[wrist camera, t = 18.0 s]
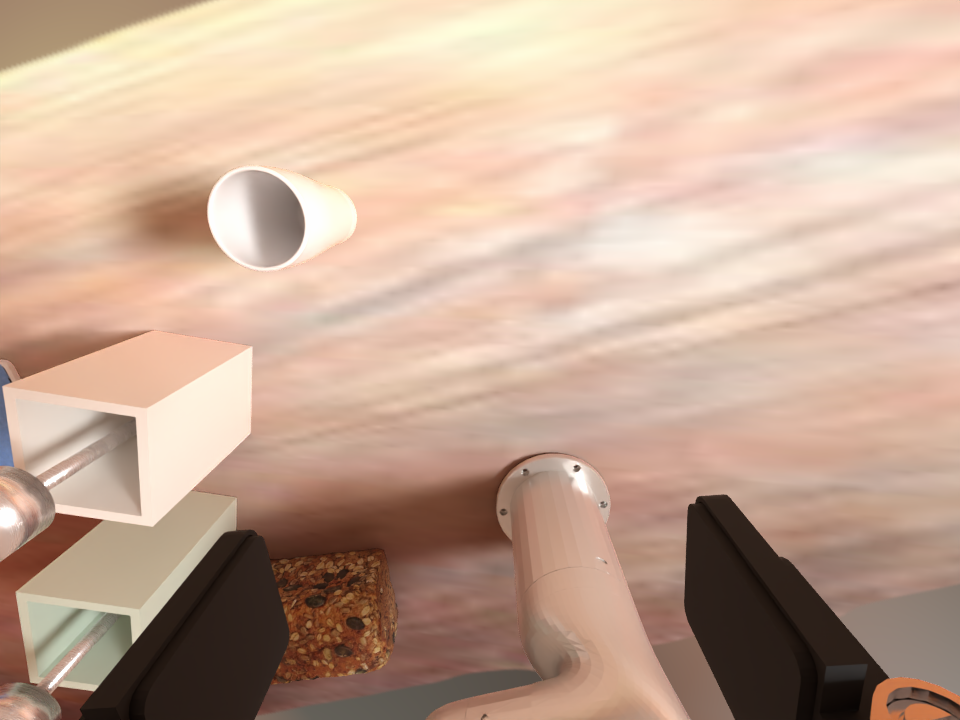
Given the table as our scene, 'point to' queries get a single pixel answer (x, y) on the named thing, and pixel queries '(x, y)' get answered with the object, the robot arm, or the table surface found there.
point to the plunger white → (44, 491)
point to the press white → (159, 422)
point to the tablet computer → (3, 375)
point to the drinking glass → (277, 217)
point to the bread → (336, 614)
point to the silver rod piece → (49, 681)
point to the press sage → (115, 585)
